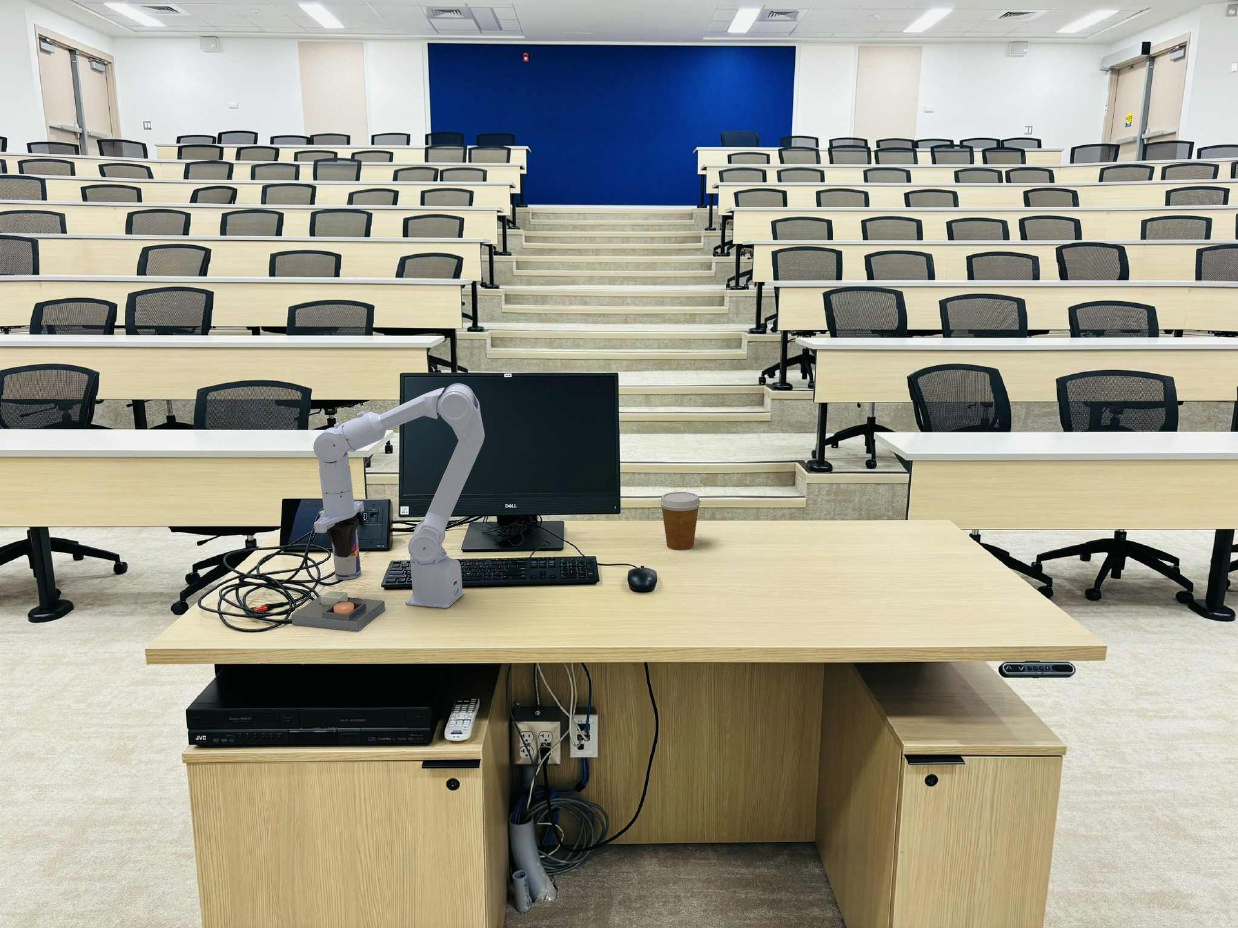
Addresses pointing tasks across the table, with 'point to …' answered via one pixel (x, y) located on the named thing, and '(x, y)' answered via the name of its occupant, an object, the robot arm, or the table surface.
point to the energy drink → (348, 562)
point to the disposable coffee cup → (680, 518)
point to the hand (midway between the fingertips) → (344, 556)
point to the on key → (333, 597)
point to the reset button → (344, 608)
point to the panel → (338, 614)
